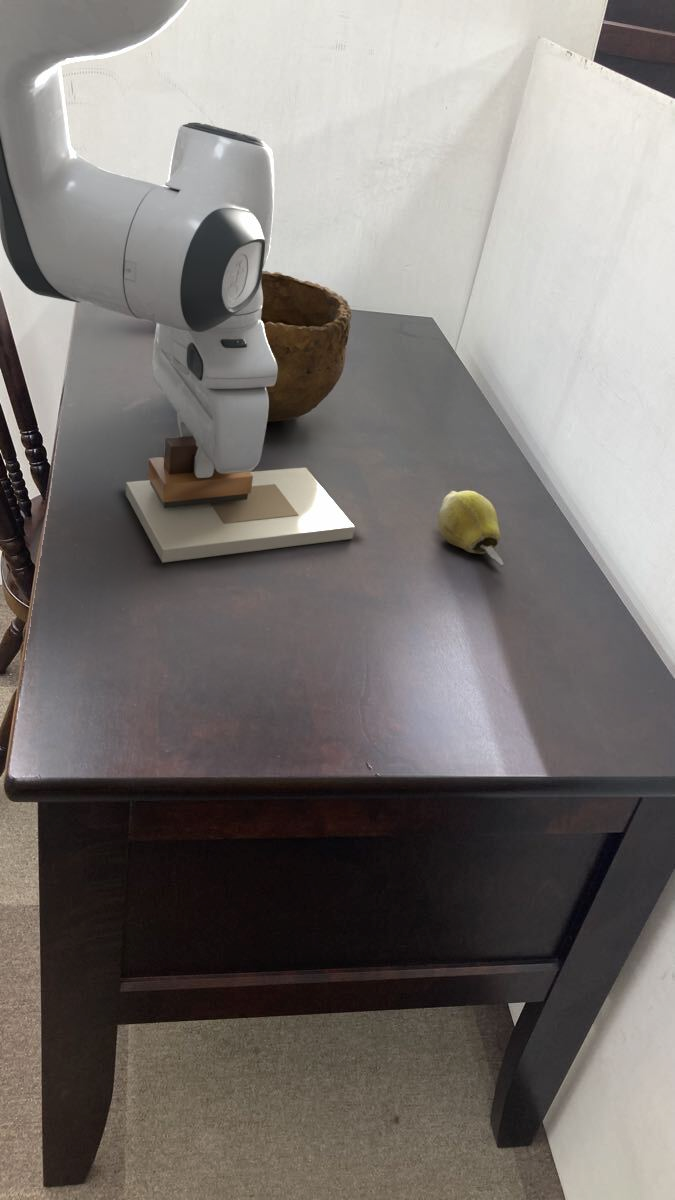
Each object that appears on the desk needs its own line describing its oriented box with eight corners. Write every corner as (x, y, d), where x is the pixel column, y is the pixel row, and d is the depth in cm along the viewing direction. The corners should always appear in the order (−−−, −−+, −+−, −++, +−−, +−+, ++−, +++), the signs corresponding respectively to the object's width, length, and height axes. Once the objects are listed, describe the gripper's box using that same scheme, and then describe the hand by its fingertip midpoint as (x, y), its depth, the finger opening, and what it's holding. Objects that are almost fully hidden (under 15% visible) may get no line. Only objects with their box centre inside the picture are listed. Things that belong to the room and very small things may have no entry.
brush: (162, 509, 85) (165, 456, 82) (147, 482, 88) (149, 430, 85) (250, 500, 89) (256, 449, 86) (232, 475, 92) (237, 424, 89)
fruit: (477, 581, 89) (414, 519, 93) (508, 579, 93) (446, 519, 98) (510, 536, 86) (443, 474, 91) (540, 535, 91) (475, 477, 95)
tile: (162, 563, 82) (163, 548, 81) (125, 494, 90) (126, 481, 89) (352, 539, 91) (355, 525, 90) (303, 478, 99) (306, 466, 98)
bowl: (339, 397, 118) (361, 284, 109) (323, 462, 103) (347, 338, 94) (199, 367, 117) (210, 252, 108) (163, 429, 102) (172, 300, 93)
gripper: (139, 284, 84) (133, 417, 92) (214, 379, 70) (199, 526, 79) (203, 285, 87) (192, 414, 95) (287, 377, 73) (265, 518, 81)
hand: (196, 465), depth 87 cm, fingers closed on brush
